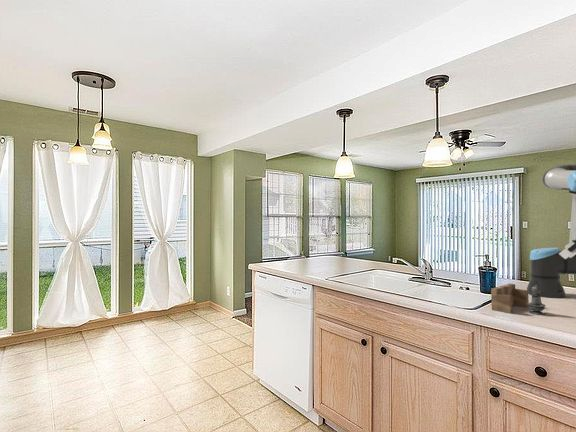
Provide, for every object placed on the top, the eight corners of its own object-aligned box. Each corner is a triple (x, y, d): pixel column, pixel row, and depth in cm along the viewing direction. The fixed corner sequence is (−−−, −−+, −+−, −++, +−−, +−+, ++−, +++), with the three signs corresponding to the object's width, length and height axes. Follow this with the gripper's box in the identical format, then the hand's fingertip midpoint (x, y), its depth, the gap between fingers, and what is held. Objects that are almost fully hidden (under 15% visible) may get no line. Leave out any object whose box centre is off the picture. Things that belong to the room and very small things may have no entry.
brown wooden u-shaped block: (510, 303, 147) (510, 283, 147) (528, 306, 141) (528, 285, 141) (491, 309, 137) (491, 288, 137) (510, 313, 131) (509, 291, 132)
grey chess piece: (537, 310, 134) (537, 282, 135) (549, 315, 129) (548, 285, 129) (524, 311, 134) (523, 282, 134) (535, 315, 128) (534, 285, 129)
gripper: (629, 219, 103) (565, 265, 116) (641, 219, 113) (581, 261, 126) (605, 204, 107) (547, 250, 121) (620, 204, 117) (564, 247, 131)
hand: (564, 255), depth 124 cm, fingers open, 5 cm apart
